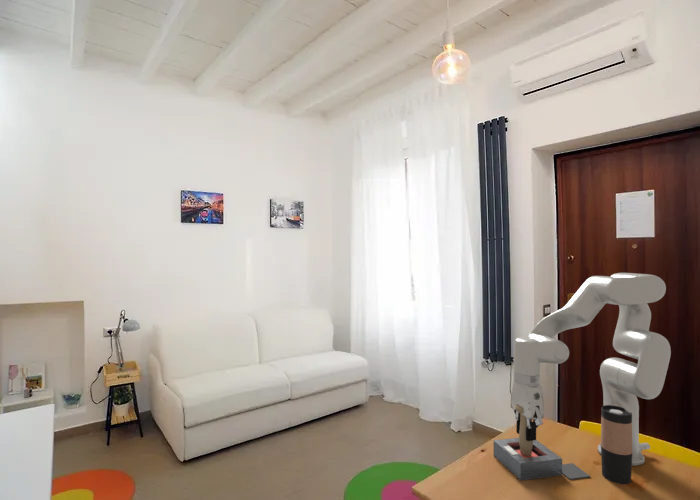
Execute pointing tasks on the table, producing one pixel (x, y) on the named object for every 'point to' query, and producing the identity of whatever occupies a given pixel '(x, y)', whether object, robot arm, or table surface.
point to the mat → (573, 472)
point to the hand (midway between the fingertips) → (526, 435)
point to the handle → (524, 434)
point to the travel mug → (616, 444)
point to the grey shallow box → (528, 460)
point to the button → (526, 456)
